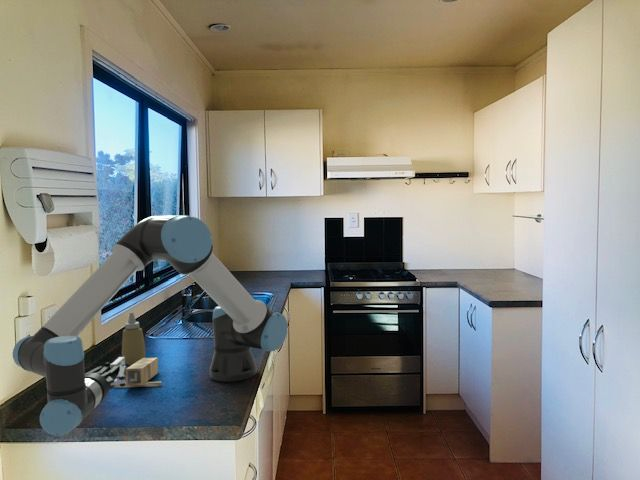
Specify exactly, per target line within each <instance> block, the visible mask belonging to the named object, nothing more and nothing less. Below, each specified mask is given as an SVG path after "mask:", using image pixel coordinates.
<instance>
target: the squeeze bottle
mask: <svg viewBox="0 0 640 480" xmlns="http://www.w3.org/2000/svg"><path fill="white" fill-rule="evenodd" d="M124 326H125V329H123V330H122V341H121V357H125V365H128V366H131V365H133V364H134V363H136V362H137V361H139V360H140V359H142V358H145V357H146V353H147V352H146V344H145V338H144V333H143V331H144V330H143V328H141V327H140V322H139V321H137V320H136V317H135V313H134V312H129V317H128V322H126V323H125V324H124Z"/></svg>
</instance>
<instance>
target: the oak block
mask: <svg viewBox="0 0 640 480" xmlns="http://www.w3.org/2000/svg"><path fill="white" fill-rule="evenodd" d="M158 373H159V357H144V358H142V359H140V360H139V361H137V362H136V363H134V364H133V365H128V367H126V377H125V383H126V386H129V385H143V384H145V383H146V382H149V380H151V379H152V378H154V377H155V376H156V375H157V374H158Z"/></svg>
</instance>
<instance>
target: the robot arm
mask: <svg viewBox="0 0 640 480" xmlns="http://www.w3.org/2000/svg"><path fill="white" fill-rule="evenodd" d="M211 237H212V233H211V231H210V228H209V226H208V225H207V224H206V223H205V222H204V221H203V220H201V219H199V218H198V217H195V216H191V215H186V214H178V215H153V216H148V217H146V218H144V219H142V220H140V221H139V222H138V223H136V224H135V225H133V227H131V228H130V229H129V230H128V231H127V232H126V233H124V234H123V236H122V237H120V239H119V240H118V241H117V242H116V243H115V244H114V245H113V246H112V253H110V255H109V256H107V258H106V259H105V260H104V261H103V262H102V263H101V264H100V266H99V267H97V268H96V269H95V270H94V272H93V273H92V274H91V275H90V276H89V277H88V278H87V279H86V280H85V281H84V282H83V283H82V284H81V285H80V286H79V287H78V288H77V290H76V291H75V292H74V293H72V295H70V297H69V298H68V299H67V300H66V301H65V302H64V303H63V304H62V306H60V308H59V309H58V310H56V312H55V313H54V314H52V316H51V317H50V318H49V319H48V320H47V321H46V322H45V323H44V324H43V325H42V326H41V327H40V328H39V329H38V330H37V332H36V333H34V335H29V336H28V335H27V336H25V337H23V338H21V339H20V340H18V341H17V342H16V343H15V345H14V347H13V349H12V359H13V361H14V363H15V364H16V365H17V366H18V367H20V368H21V369H23V370H25V371H27V372H30V373H34V374H36V375H38V376H41V377H44V378H45V381H46V395H47V403H46V404H45V405H44V407H43V408H42V410H40V411H41V413H40V414H39V424H40V426H41V428H42V429H43V430H44V431H45V433H47V434H49V435H51V436H59V437H60V436H65V435H66V434H67V435H68V434H69V433H71V431H73V430H75V429H76V428H77V427H79V426H80V424H81V423H82V421H84V419H85V418H86V417H87V416H88V415H89V414H90V413H91V412H92V411H94V409H95V408H96V407H97V406H99V405H100V404H101V403H102V401H103V400H105V398H106V397H107V396H108V394H109V391H110V390H111V389H114V388H115V387H114V386H115V385H118V386H119V385H120V386H122V388H124V387H123V386H125V385H126V384H125V383H126V368H127V366H126V364H125V357H123V356H118V357H117V358H116V359H115V360H114V361H113V362H112V363H110V362H105V363H104V364H105V365H104V366H101V365H99V366H97V367H95V368H93V369H91V370H89V371H88V372H86V370H85V369H86V368H85V351H84V345H83V340H82V338H81V337H79V335H80V334H81V333H82V332H83V331H84V329H85V328H86V327H87V326H88V325H89V324H90V323H91V322H92V321H93V320H94V318H95V317H97V315H98V314H99V313H100V311H102V309H103V308H104V307H105V306H106V305H107V304H108V303H109V302H110V301H111V299H112V298H113V297H115V295H117V293H118V292H119V290H121V288H123V287H124V285H125V284H126V283H127V282H128V281H129V279H130V278H131V277H132V276H133V275H134V274H135V273H136V272H139V271H143V270H144V269H145V268H146V266H148V265H149V264H150V263H151V262H154V261H156V260H158V261H166V262H167V263H168V264H170V266H172V268H174V269H175V270H176V272H178V273H179V274H180V275H183V276H184V275H185V276H187V275H188V276H189V277H190V278H191V279H192V280H193V281H194V282H195V283H196V284H198V285H199V287H200V288H201V289H202V290H203V291H204V292H205V293H206V294H207V295H208V296H209V297H210V298H211V299H212V300H213V301H214V302H215V303H216V304H217V306H215V307H214V309H213V311H212V319H211V320H212V332H213V333H212V334H213V349H214V350H213V351H214V352H213V356H212V358H211V359H212V360H211V364H210V366H209V377H210V379H212V380H213V381H217V382H227V383H228V382H229V383H230V382H232V383H233V382H238V381H239V382H240V381H246V380H248V379H251V378H253V377H255V375H257V373H258V369H257V363H256V361H255V358H254V356H253V352H252V348H253V349H256V350H262V351H263V352H274V351H277V350H279V349H280V348H281V347H282V345H283V344H284V342H285V341H286V338H287V335H288V320H287V318H286V316H285V314H282V313H280V312H277V311H276V312H274V311H272V310H271V309H270V308H269V306H268V305H267V303H265V302H264V301H262V300H259V299H254V298H253V296H252V294H250V293H249V292H248V291H247V289H246V288H245V287H244V286H243V285H242V284H241V283H240V281H239V280H237V278H236V277H235V276H234V275H233V274H232V272H230V270H229V269H228V268H227V267H226V266H225V265H224V264H223V262H222V261H221V260H220V259H219V258H218V257H217V256H216V255H215V254H214V243H213V240H212V238H211Z"/></svg>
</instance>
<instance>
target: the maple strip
mask: <svg viewBox="0 0 640 480" xmlns="http://www.w3.org/2000/svg"><path fill="white" fill-rule="evenodd" d="M125 384H126V382H125ZM162 384H163V383H162V381H147V382H146V383H145V384H143V385H129V386H126V385H125V386H123V387H122V386H120V385H119V386H118V385H115V386H114V388H115V389H116V388H142V387H144V388H146V387H161V386H162Z"/></svg>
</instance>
